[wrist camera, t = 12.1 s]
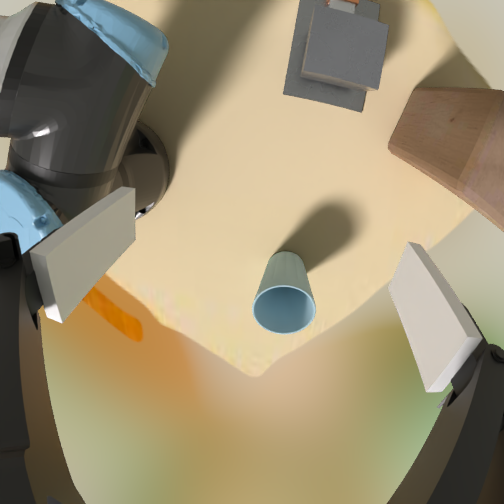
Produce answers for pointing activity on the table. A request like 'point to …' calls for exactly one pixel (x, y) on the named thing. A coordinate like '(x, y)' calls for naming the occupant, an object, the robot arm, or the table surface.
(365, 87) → the grey metal cube
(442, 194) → the table surface
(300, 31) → the lever
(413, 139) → the wooden block
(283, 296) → the cup
